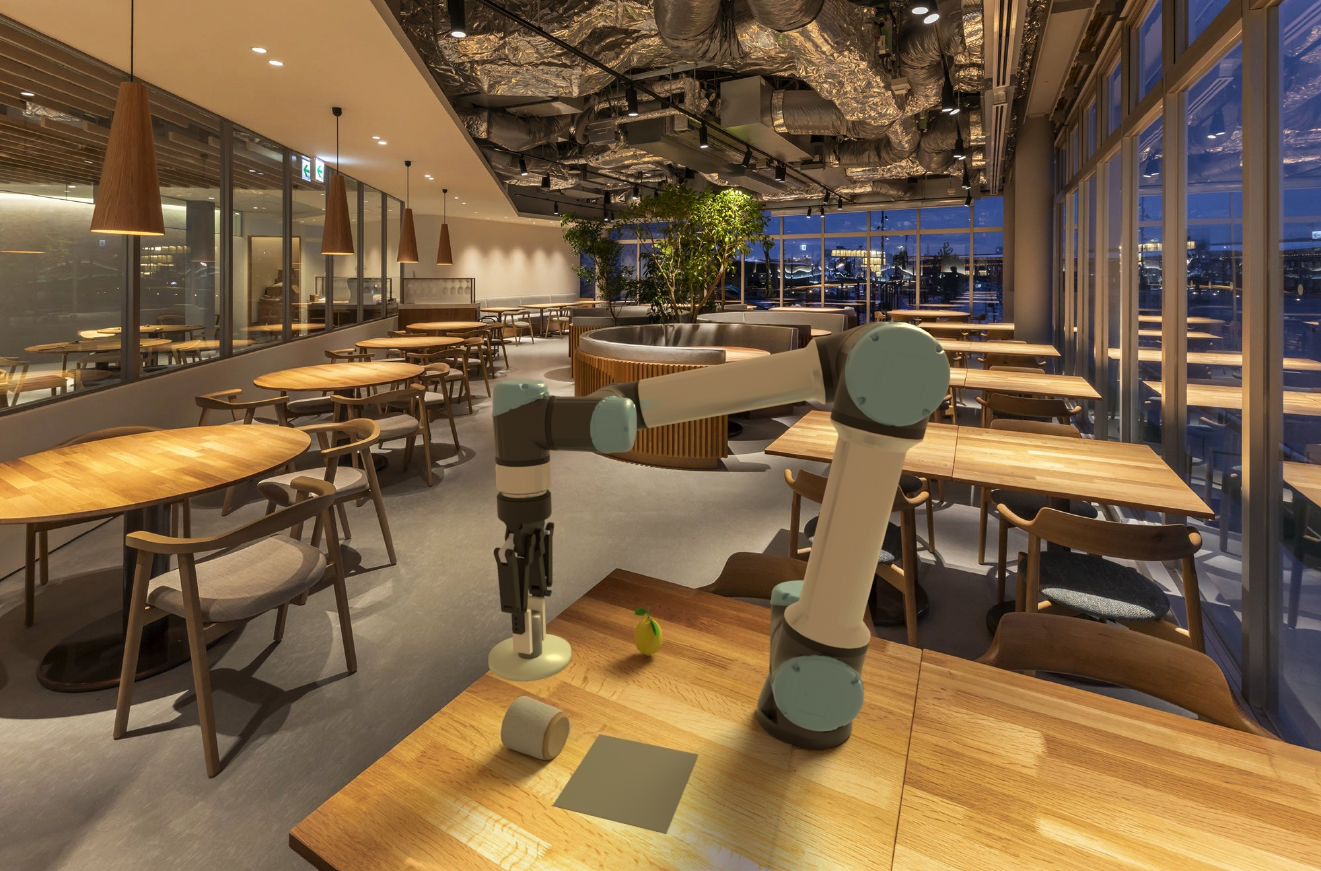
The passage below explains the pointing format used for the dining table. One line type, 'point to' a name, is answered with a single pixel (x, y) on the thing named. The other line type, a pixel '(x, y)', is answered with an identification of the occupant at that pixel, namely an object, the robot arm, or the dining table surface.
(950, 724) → the dining table surface
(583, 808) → the mat
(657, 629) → the lemon
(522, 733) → the ceramic mug
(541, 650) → the lid
